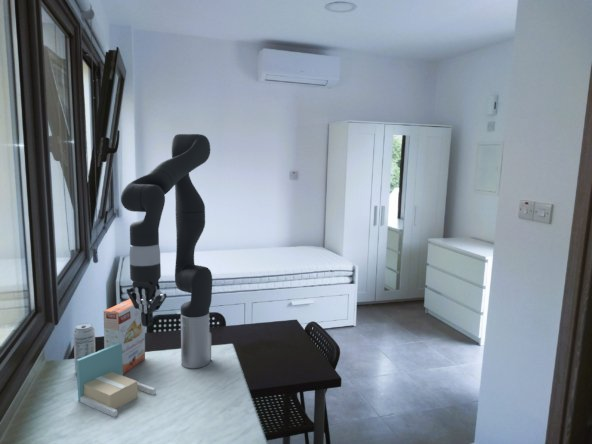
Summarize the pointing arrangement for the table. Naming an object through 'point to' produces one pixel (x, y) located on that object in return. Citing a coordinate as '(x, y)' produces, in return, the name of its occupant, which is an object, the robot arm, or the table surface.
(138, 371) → the table surface
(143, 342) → the cracker box
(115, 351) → the display stand
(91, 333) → the energy drink can
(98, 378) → the kraft carton
